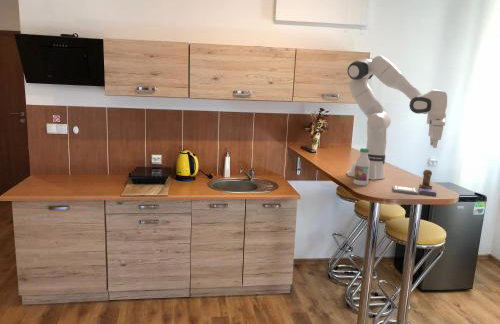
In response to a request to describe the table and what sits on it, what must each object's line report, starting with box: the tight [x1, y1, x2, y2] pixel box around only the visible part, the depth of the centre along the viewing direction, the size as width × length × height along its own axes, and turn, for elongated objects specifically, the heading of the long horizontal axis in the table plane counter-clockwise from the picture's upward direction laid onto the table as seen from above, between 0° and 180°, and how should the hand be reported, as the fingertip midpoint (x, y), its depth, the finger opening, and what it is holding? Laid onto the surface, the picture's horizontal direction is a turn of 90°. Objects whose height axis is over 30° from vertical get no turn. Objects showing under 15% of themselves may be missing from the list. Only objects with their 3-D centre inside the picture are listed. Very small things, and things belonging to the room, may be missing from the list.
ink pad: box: [417, 188, 437, 197], centre depth 207 cm, size 8×6×2 cm
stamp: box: [418, 169, 433, 190], centre depth 215 cm, size 6×4×11 cm
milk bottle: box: [353, 147, 370, 186], centre depth 218 cm, size 8×8×20 cm
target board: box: [392, 185, 419, 196], centre depth 210 cm, size 12×10×2 cm
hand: (433, 146), depth 212 cm, fingers open, 8 cm apart
